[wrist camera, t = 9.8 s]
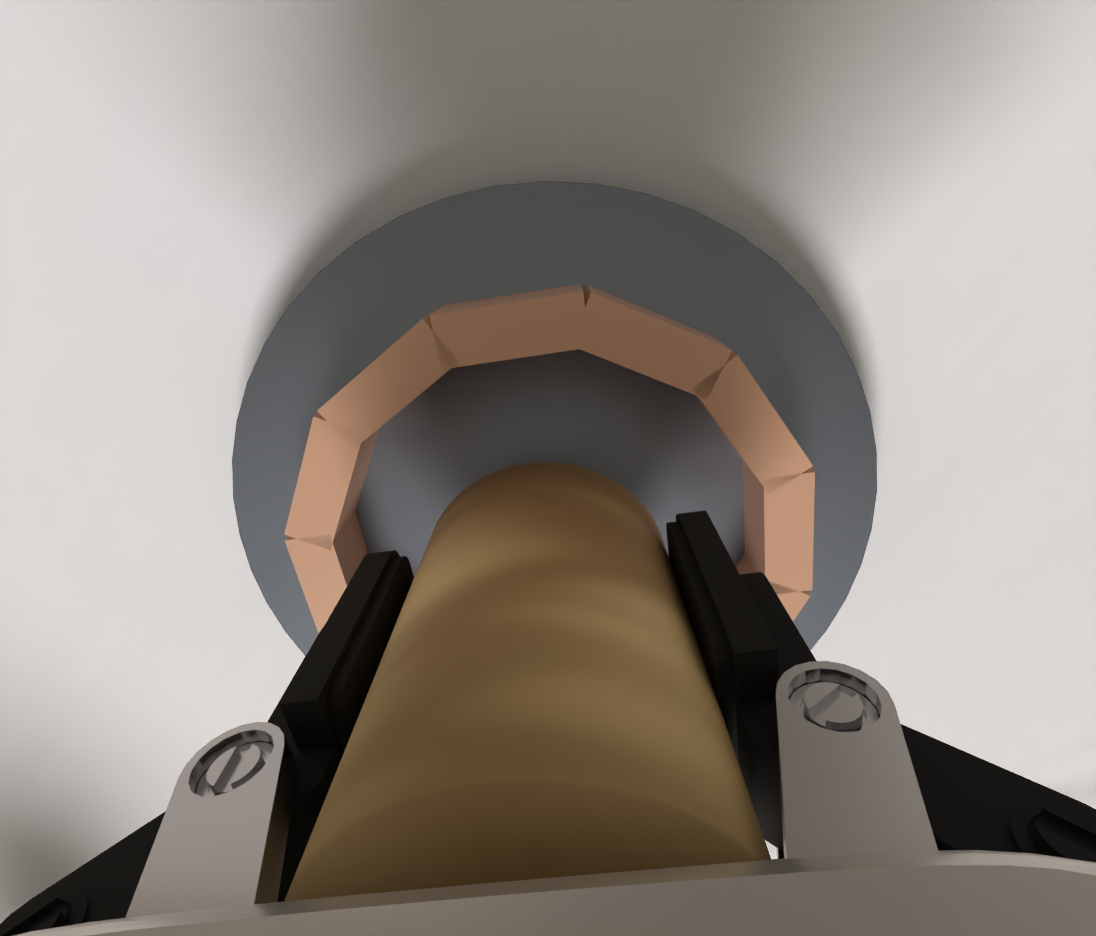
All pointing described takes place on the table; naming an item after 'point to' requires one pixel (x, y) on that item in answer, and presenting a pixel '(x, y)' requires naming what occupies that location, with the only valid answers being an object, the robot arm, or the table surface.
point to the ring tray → (553, 392)
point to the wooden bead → (534, 707)
